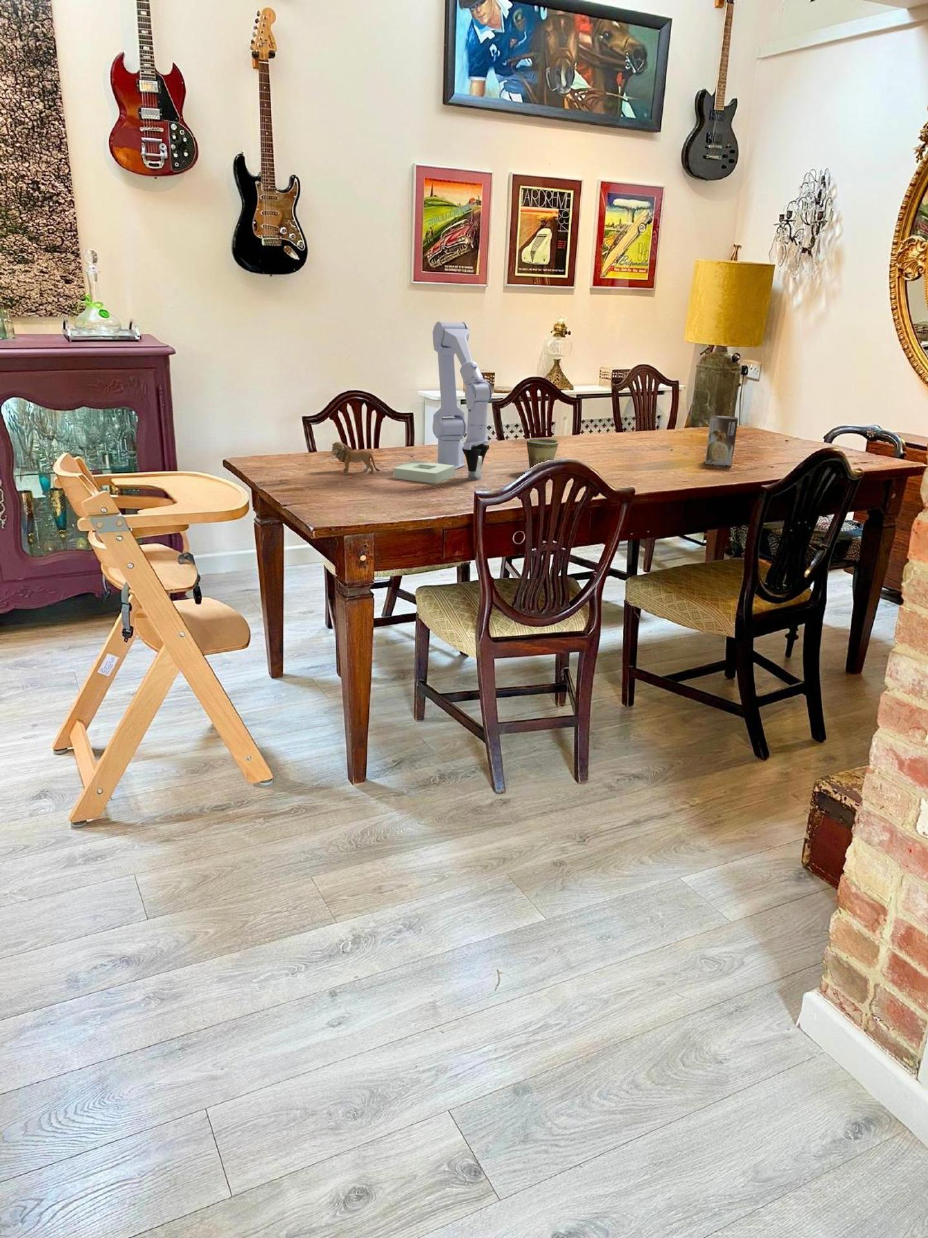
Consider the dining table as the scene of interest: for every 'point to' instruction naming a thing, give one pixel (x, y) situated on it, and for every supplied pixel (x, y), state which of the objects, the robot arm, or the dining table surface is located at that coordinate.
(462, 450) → the robot arm
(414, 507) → the dining table surface
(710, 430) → the coffee box
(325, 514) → the dining table surface
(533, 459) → the ceramic cup
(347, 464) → the lion figurine
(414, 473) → the socket block
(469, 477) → the peg
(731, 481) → the dining table surface
